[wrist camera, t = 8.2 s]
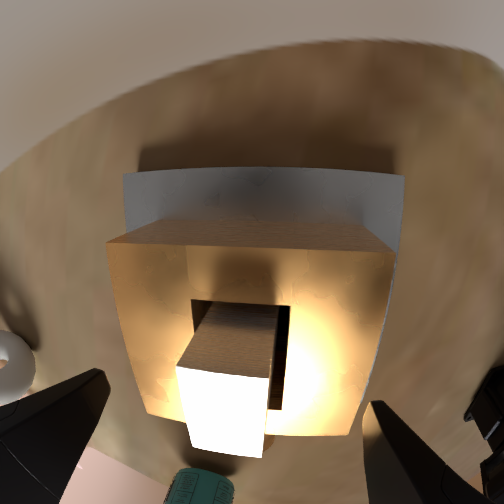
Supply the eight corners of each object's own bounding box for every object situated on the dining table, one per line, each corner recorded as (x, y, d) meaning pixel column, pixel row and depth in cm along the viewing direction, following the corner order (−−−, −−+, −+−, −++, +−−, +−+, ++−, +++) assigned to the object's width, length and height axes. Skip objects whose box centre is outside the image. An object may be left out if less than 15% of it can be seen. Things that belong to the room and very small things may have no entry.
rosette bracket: (394, 175, 13) (454, 181, 7) (354, 397, 17) (366, 464, 11) (137, 172, 14) (64, 180, 9) (165, 382, 19) (133, 439, 13)
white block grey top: (282, 262, 15) (268, 378, 6) (278, 326, 16) (261, 457, 7) (238, 259, 15) (175, 366, 7) (238, 323, 16) (192, 446, 8)
